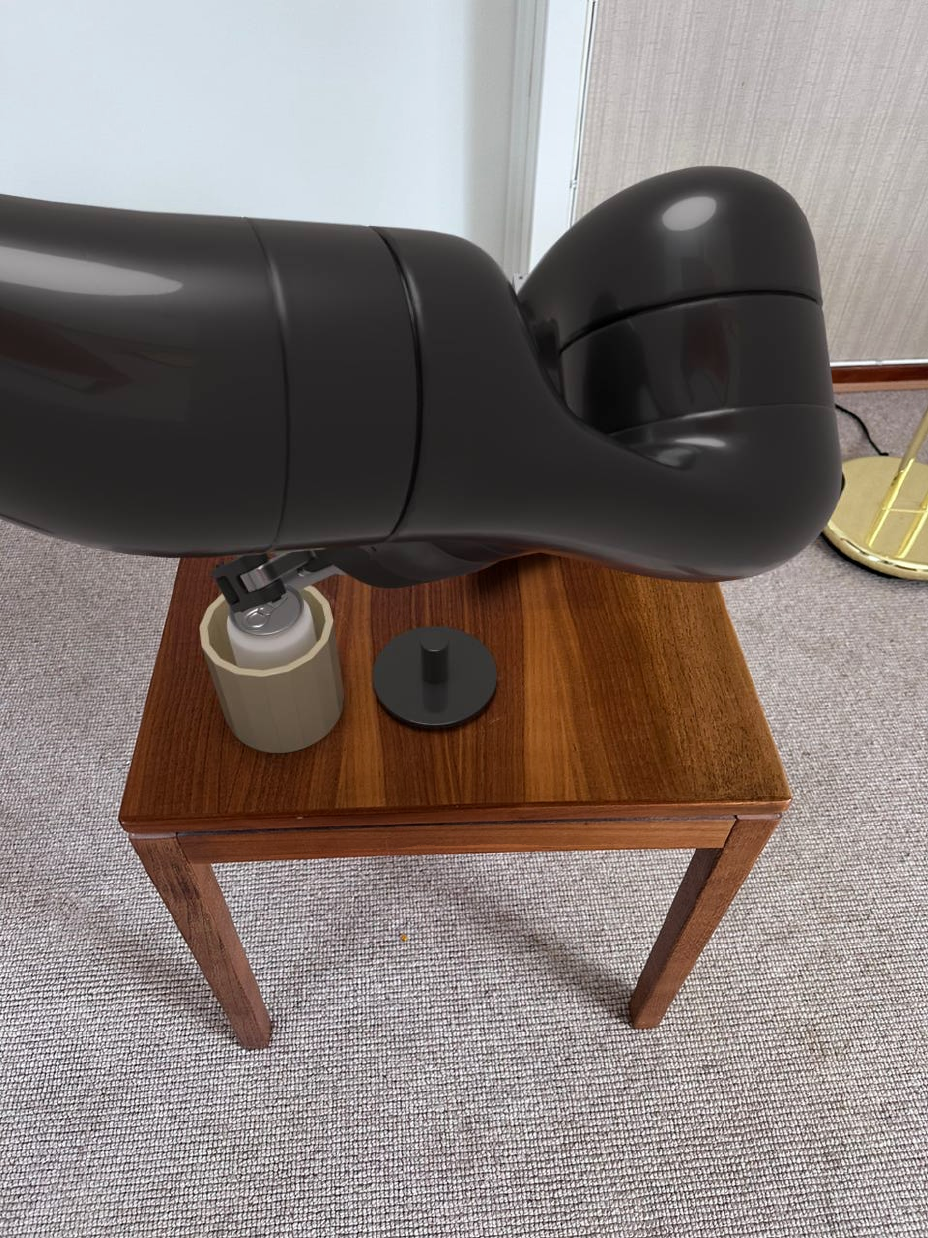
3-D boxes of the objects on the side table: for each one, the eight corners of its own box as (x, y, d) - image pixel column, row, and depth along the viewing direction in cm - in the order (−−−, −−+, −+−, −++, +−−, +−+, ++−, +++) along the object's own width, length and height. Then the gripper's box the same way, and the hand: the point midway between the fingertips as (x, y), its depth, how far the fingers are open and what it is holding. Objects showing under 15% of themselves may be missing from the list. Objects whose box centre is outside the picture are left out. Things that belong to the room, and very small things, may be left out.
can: (233, 712, 75) (204, 618, 66) (278, 659, 79) (256, 564, 70) (297, 743, 73) (276, 651, 64) (340, 687, 77) (326, 593, 68)
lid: (388, 745, 74) (384, 705, 70) (362, 647, 81) (357, 605, 76) (512, 717, 76) (516, 676, 72) (476, 624, 83) (478, 581, 78)
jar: (232, 765, 72) (206, 688, 65) (220, 670, 79) (194, 589, 71) (354, 738, 74) (343, 659, 66) (332, 648, 81) (320, 566, 73)
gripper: (332, 651, 36) (234, 658, 51) (578, 501, 43) (429, 544, 57) (240, 485, 35) (166, 540, 49) (509, 354, 41) (373, 437, 55)
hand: (307, 542), depth 53 cm, fingers open, 8 cm apart
